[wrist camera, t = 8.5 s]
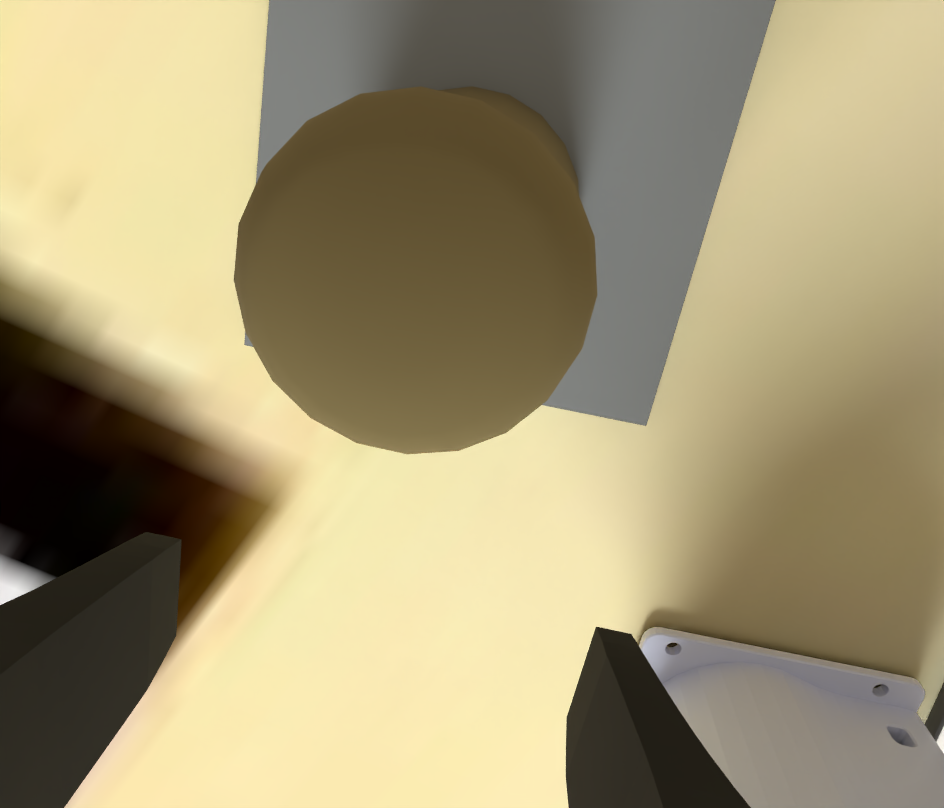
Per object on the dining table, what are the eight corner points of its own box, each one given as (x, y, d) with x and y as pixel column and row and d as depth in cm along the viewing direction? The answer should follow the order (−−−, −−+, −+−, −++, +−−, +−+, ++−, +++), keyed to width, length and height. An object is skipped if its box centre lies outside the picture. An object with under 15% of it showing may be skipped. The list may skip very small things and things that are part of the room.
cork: (436, 358, 21) (350, 585, 11) (310, 174, 19) (63, 232, 9) (622, 244, 19) (731, 382, 9) (502, 34, 18) (470, -89, 7)
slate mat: (781, -36, 17) (787, -41, 17) (643, 419, 22) (645, 425, 21) (286, -137, 17) (279, -144, 17) (250, 340, 22) (244, 344, 21)
